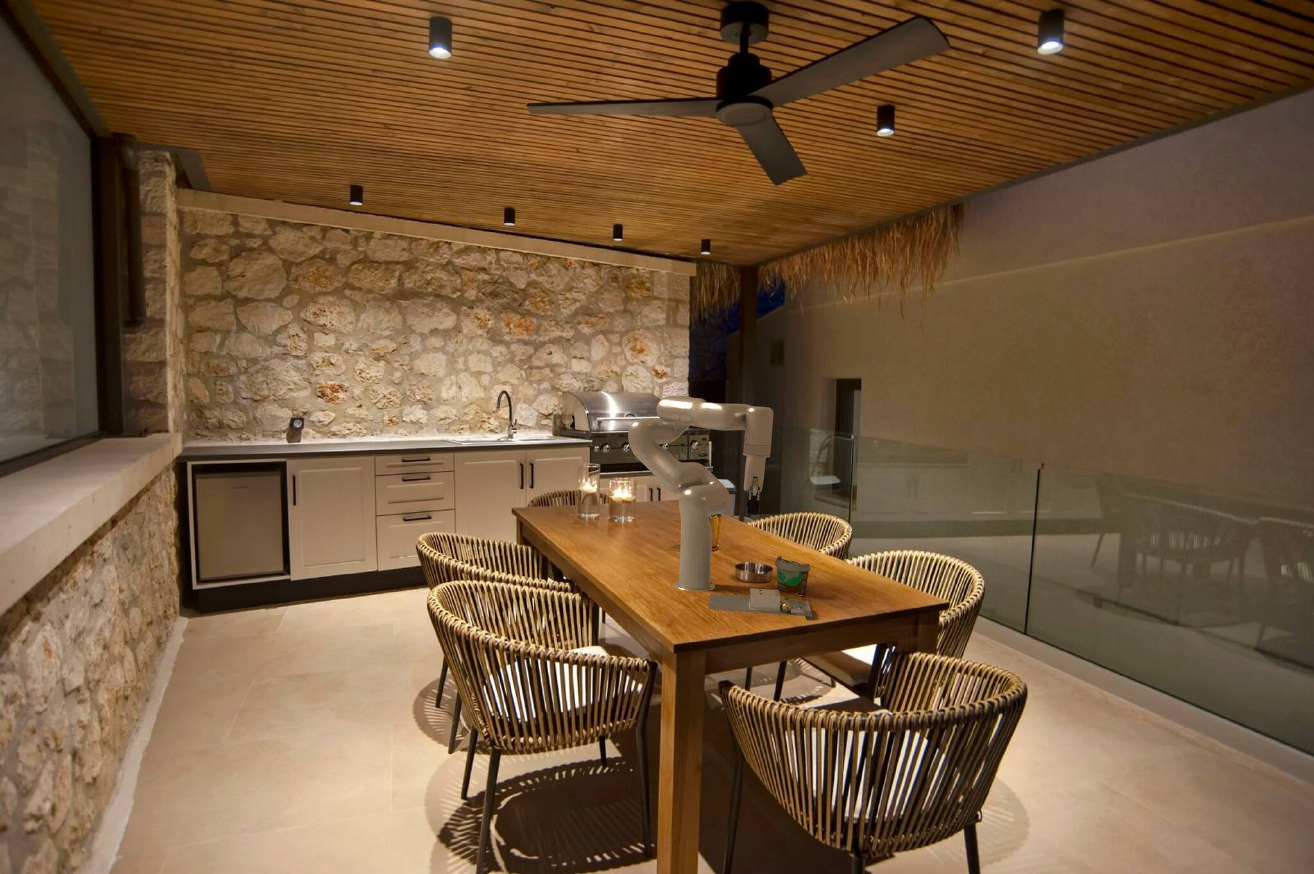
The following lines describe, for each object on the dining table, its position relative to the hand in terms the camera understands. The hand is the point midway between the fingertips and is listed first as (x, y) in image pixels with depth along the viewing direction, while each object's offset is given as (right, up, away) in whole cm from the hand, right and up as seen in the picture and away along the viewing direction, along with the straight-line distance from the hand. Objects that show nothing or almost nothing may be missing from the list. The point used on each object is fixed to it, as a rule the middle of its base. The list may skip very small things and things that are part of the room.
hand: (752, 510), depth 200 cm
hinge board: (+2, -27, -1) cm, 27 cm away
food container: (+12, -27, +15) cm, 33 cm away
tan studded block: (+3, -26, -3) cm, 27 cm away
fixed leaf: (+11, -27, -4) cm, 30 cm away
